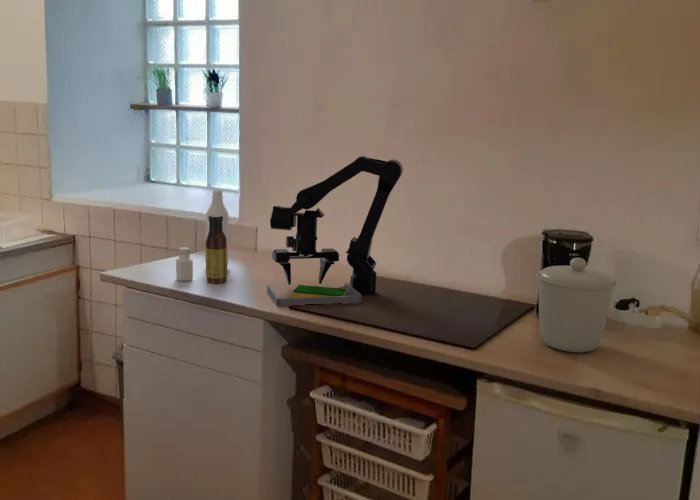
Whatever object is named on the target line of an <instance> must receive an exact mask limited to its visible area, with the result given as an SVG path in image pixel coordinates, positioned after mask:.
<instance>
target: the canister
mask: <svg viewBox="0 0 700 500" xmlns="http://www.w3.org/2000/svg"><path fill="white" fill-rule="evenodd" d="M586 266H587V262H586V260H585V259H584V258H581V257H574V258H572V259H571V260H570V262H569V265H551V266H547V267H544V268H542V270H538V271H537V272H536V273H535V276H536V278H537V279H538V321H539V323H538V325H539V334H540V337H541V340H542V341H543V343H544V344H545V345H547V346H549V347H551V348H553V349H555V350H559V351H564V352H569V353H588V352H592V351H594V350H596V349H597V348H598V347H599V345H600V344H601V341H602V338H603V336H604V331H605V327H606V324H607V320H608V317H609V312H610V308H611V305H612V300H613V296H614V291H615V288H617V286H618V285H619V282H618V280H617V279H615V277H613V276H612V275H610V274H609V273H607V272H605V271H602V270H599V269H595V268H592V267H591V268H589V267H586Z"/></svg>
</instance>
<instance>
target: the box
mask: <svg viewBox="0 0 700 500" xmlns="http://www.w3.org/2000/svg"><path fill="white" fill-rule="evenodd" d="M266 289H267V290H266V292H267V294H268V296H269V297H270V298H271V300H272V302H274V304H275V305H276V307H292V306H291V305H299V304H324V303H332V304H331V305H338V304H337V303H342V304H341V305H344V304H345V305H347V304H349V303H351V304H363V297H364V295H361V294H360V293H359V292H357V291H356V290H355V289H354V288H353V287H352V286H350V283H348V282H344V287H343V289H346V293H348V294H349V295H346V296H327V297H300V298H294V297H281V298H280V296H279V295H278V294H277V292H276V291H275V289H274V288H273V287H272V286H271V284H267V287H266ZM334 303H336V304H334Z"/></svg>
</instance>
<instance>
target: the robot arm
mask: <svg viewBox="0 0 700 500" xmlns="http://www.w3.org/2000/svg"><path fill="white" fill-rule="evenodd" d="M362 172H364V173H369V174H372V175H375V176H378V181H377V189H376V192H375V194H374V198H373V199H372V202H371V204H370V205H371V206H370V208H369V210H368V213H367V216H366V218H365V220H364V223H363V225H362V228H361V231H360V232H359V235H358V236H357V237H356V236H353V237H352V238H351V239H350V242H349V247H348V249H347V251H346V252H345V254H347V255H346V261H347V263H348V266H350V267H352V274H351V275H350V283H349V285H350V286H352V287H353V288H354V289H355V290H356V291H357V292H359V293H360V294H361V295H362V296H373V295H375V296H376V295H378V292H377V291H376V288H377V272H376V271H375V270H374V269H376V266H377V261H376V260H375V259H374V258H373V257H372V256H371V251H372V244H373V238H374V235H375V234H376V233H375V232H376V231H377V227H378V225H379V222H380V220H381V217H382V215H383V212H384V209H385V207H386V206H387V202H388V199H389V197H390V195H391V192H392V190H393V189H394V188H395V187H396V185H397V183H398V181H399V180H400V178H401V177H402V175H403V172H404V166H403V165H402V163H401V162H400V161H399V160H397V159H389V160H387V161H386V160H383V159H375V158H372V157H367V156H365V155H361V156H359V157H357V158H356V159H355V160H354V161H353V162H351V163H349V164H347V165H346V166H345V167H343V168H342V169H340V170H338V171H337V172H334V174H332V175H330V176H329V177H327V178H326V179H324V180H322V181H319V182H317V183H315V184H312V185H310V186H308V187H305V188H304V189H302V190H300V191H299V192H298V193H297V194H296V197H295V198H296V199H295V200H296V201H295V202H294V203H293V204H292V205H291V206H281V205H273V207H272V211H271V216H270V219H269V226H270V229H271V230H280V231H292V229H293V228H295V227H296V233H295V238H294V236H291V235H290V236H289V235H288V236H286V239H285V240H286V241H285V245H286V246H285V247H286V249H285V248H282V249H281V248H280V249H279V248H276V249H273V251H272V254H271V255H272V256H271V257H272V260H273V261H274V262H275V263H277V264H279V265H280V266H281V267H282V268H283V271H284V274H285V277H286V281H287V284H288V286H291V284H292V283H291V282H292V269H291V268H292V267H291V265H292V264H291V262H290V260H292V259H293V260H295V259H300V260H301V259H303V260H304V259H319V263H320V264H319V265H320V267H319V273H318V274H319V275H318V284H319V285H321V284H322V283H323V281H324V279H325V277H326V274H327V273H328V271H329V270H330V268H331V266H332V265H335V262H339V261H340V253H339V252H338V251H337V250H336V249H334V248H321V251H317V241H318V236H317V234H318V233H317V231H318V219H321V218H323V217H324V216H325V213H324V212H323V211H322V210H321V209H320V208H319V207H318V208H317V209H316V210H311V209H313V208H314V207H315V206H316V205H318V204H319V203H320V202H321V201H322V200H323V199H324V198H325V197H326V196H328V195H329V194H330V193H331V192H332V191H333V190H334V189H337V188H338V187H340V186H341V185H343V184H344V183H347V182H348V181H349V180H351V179H352V178H355V176H357V175H359V174H360V173H362ZM301 210H305V211H304V212H301ZM287 248H289V249H290V248H291V250H292V251H291V252H290V251H289V250H288V249H287Z"/></svg>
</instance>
